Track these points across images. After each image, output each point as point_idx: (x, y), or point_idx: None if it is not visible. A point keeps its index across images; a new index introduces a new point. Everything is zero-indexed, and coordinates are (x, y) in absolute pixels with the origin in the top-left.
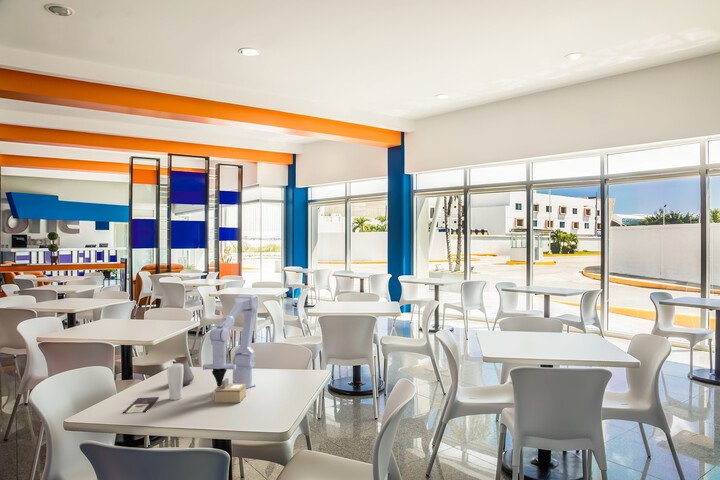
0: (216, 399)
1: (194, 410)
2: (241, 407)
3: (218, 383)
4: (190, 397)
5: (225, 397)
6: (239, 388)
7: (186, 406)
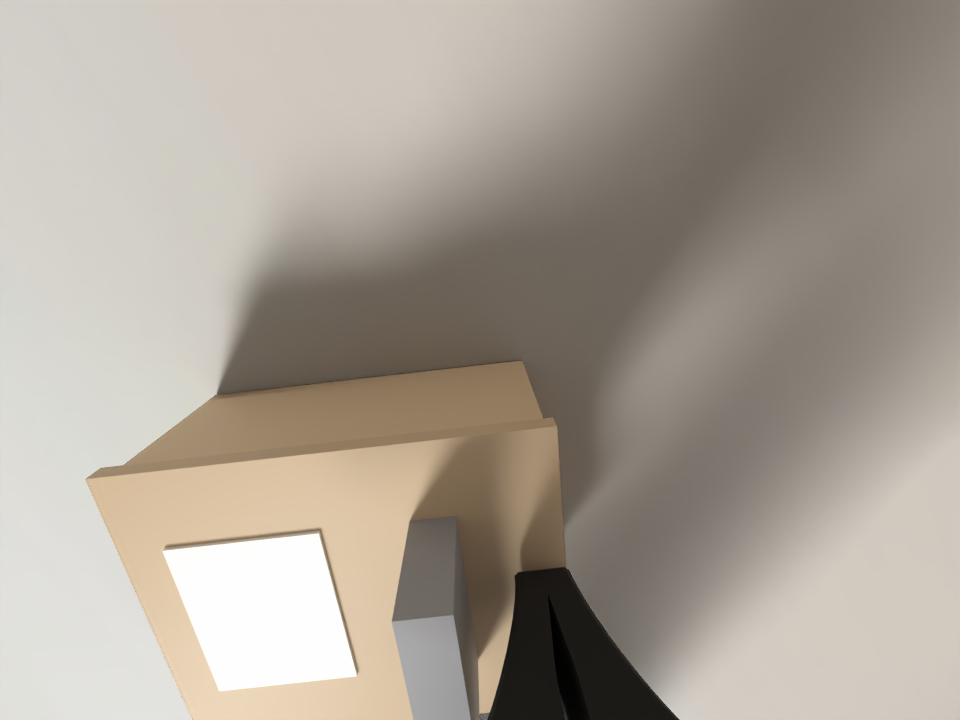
0: (507, 375)
1: (677, 33)
2: (90, 242)
3: (552, 603)
4: (877, 484)
5: (380, 400)
6: (157, 552)
7: (841, 184)
